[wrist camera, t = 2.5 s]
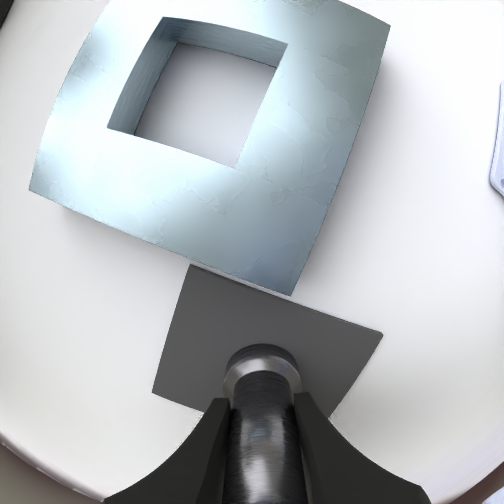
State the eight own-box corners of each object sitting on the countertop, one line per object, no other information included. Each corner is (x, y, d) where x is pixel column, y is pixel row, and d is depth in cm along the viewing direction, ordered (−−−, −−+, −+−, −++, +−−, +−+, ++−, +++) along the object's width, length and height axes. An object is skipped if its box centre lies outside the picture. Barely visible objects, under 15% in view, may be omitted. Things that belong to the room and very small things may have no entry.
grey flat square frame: (370, 48, 10) (390, 25, 7) (283, 276, 12) (290, 296, 10) (152, -9, 9) (137, -34, 7) (59, 188, 12) (28, 189, 9)
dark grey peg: (310, 355, 13) (350, 495, 5) (280, 405, 14) (291, 534, 6) (240, 333, 13) (224, 484, 5) (216, 387, 13) (191, 521, 6)
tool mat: (381, 332, 13) (383, 335, 13) (311, 434, 15) (311, 437, 14) (190, 264, 12) (189, 265, 12) (153, 389, 14) (151, 392, 14)
